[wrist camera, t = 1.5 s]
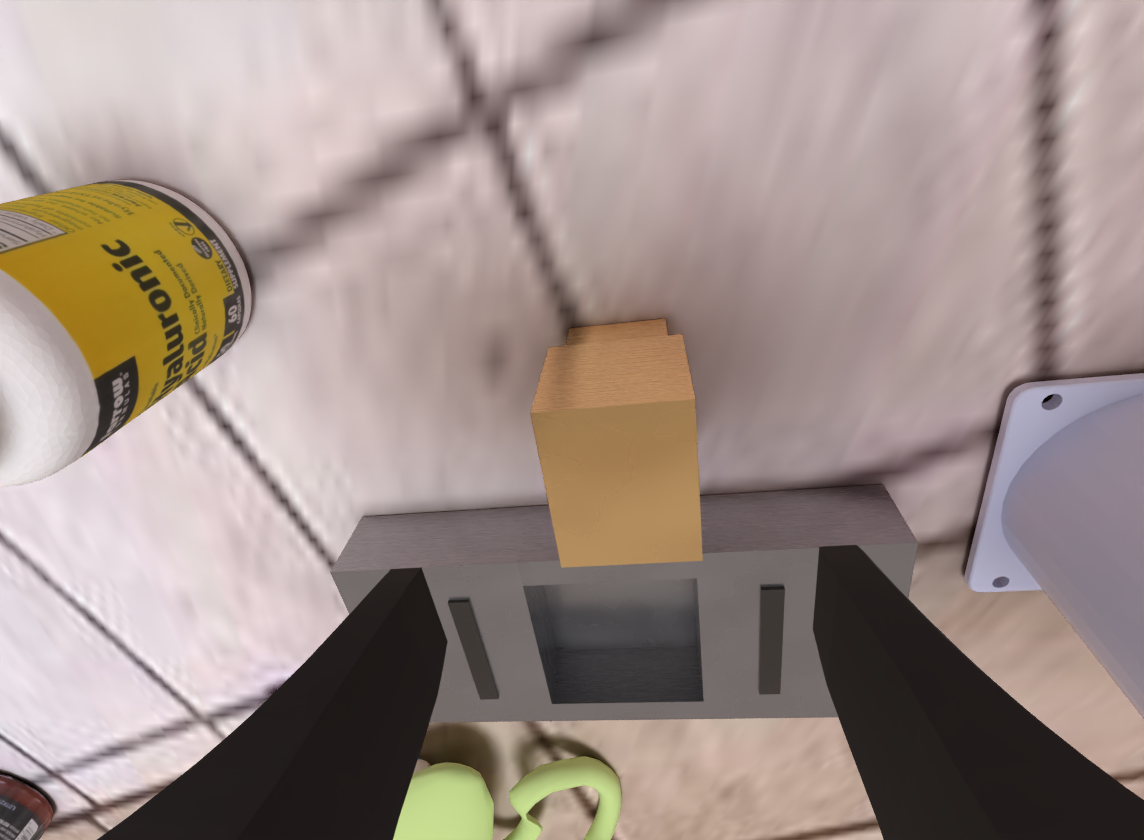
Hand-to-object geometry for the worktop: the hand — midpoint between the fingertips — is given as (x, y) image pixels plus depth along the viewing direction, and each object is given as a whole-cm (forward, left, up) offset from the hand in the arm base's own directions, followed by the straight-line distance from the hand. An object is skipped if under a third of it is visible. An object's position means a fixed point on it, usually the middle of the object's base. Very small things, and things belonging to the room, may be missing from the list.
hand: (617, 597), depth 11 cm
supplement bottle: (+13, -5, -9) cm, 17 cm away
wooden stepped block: (0, 0, -9) cm, 9 cm away
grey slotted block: (+1, +9, -9) cm, 12 cm away
